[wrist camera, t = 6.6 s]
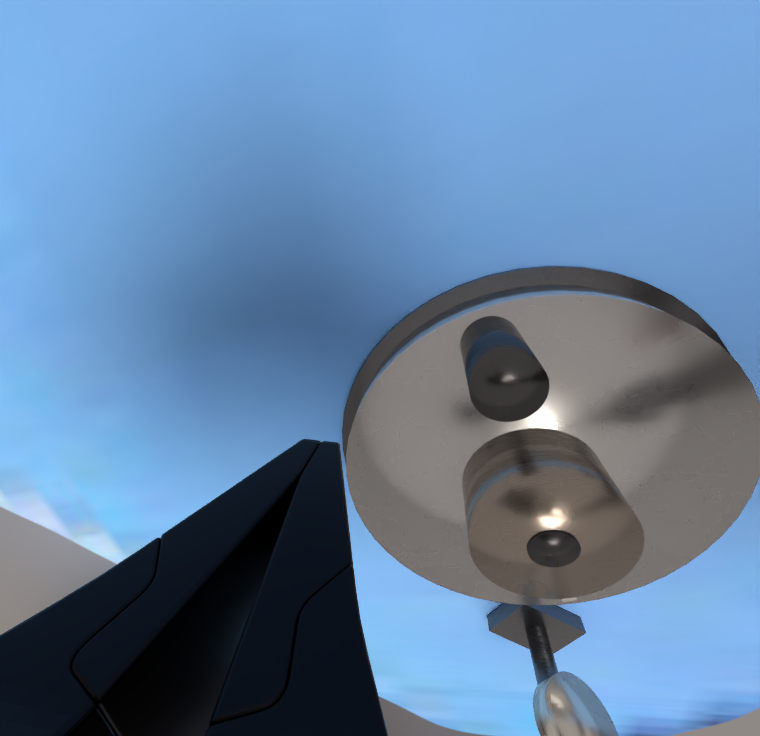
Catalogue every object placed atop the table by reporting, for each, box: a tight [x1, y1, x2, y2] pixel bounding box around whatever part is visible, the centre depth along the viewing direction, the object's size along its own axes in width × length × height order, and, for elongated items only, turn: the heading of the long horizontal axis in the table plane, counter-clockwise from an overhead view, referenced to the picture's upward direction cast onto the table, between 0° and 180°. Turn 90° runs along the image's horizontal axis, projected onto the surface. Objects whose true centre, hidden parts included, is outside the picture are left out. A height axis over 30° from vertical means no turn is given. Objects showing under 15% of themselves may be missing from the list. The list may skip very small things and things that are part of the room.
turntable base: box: [342, 266, 730, 461], centre depth 20 cm, size 20×20×1 cm
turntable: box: [346, 284, 760, 605], centre depth 17 cm, size 19×19×6 cm
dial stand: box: [487, 603, 618, 736], centre depth 21 cm, size 6×5×9 cm
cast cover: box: [462, 428, 645, 599], centre depth 16 cm, size 7×7×4 cm
